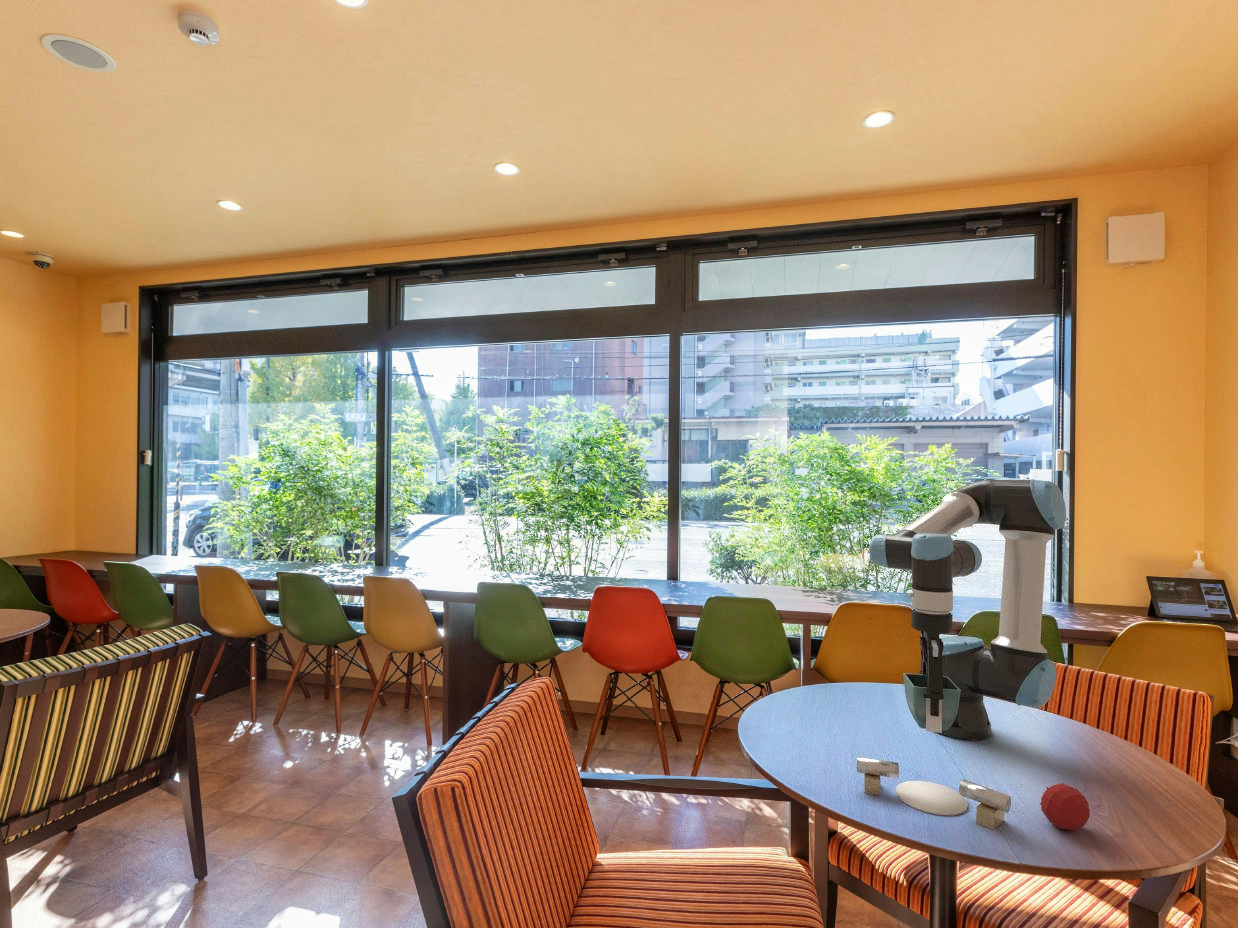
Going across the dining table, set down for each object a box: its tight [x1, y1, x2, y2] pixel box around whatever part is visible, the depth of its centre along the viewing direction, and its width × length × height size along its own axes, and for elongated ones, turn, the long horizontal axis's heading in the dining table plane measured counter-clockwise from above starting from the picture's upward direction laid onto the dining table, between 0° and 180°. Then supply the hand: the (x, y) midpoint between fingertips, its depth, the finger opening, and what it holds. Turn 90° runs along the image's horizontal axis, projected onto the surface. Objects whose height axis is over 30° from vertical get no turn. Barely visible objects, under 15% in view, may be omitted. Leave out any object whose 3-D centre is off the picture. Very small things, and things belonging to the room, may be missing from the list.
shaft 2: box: [958, 779, 1012, 830], centre depth 121 cm, size 8×5×6 cm, turn 40°
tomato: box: [1039, 783, 1091, 831], centre depth 119 cm, size 8×8×8 cm
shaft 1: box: [856, 756, 900, 796], centre depth 132 cm, size 8×5×6 cm, turn 70°
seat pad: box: [895, 780, 969, 817], centre depth 129 cm, size 13×13×1 cm
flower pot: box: [902, 672, 961, 730], centre depth 129 cm, size 9×9×9 cm
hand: (931, 722), depth 129 cm, fingers closed on flower pot, 9 cm apart
